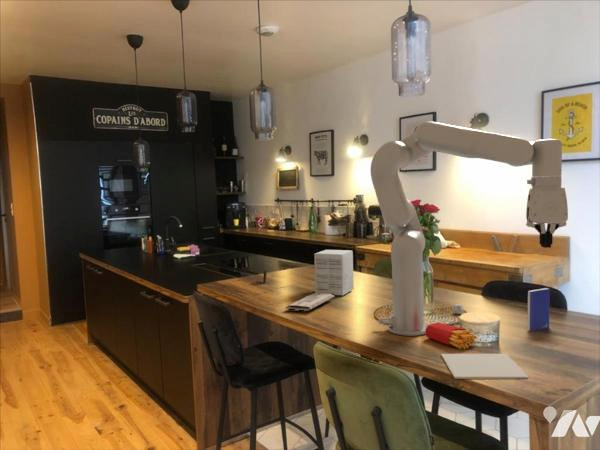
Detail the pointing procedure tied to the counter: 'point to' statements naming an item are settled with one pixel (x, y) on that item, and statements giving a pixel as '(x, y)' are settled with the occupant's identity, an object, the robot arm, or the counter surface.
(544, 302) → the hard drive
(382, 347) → the counter surface
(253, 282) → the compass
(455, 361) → the mat
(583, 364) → the counter surface
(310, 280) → the counter surface
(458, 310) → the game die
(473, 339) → the french fries
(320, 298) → the newspaper
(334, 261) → the supplement box
